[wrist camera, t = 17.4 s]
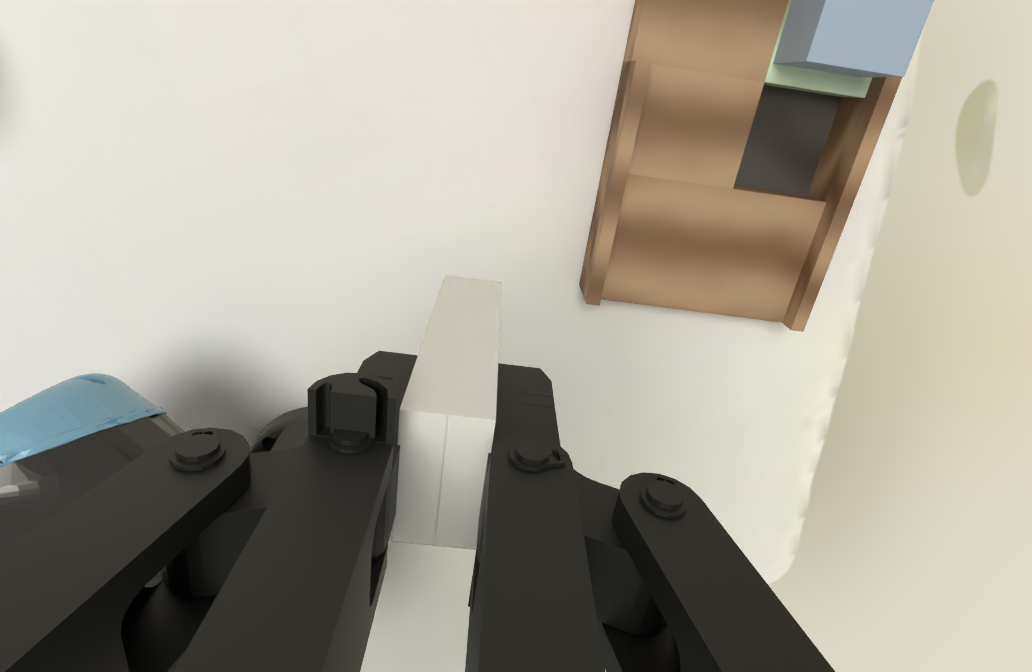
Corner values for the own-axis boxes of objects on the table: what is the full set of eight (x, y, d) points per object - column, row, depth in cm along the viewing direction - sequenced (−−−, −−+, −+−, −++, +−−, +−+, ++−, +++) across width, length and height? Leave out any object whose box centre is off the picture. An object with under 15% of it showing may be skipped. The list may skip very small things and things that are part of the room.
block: (859, 77, 37) (903, 76, 32) (772, 63, 36) (806, 60, 32) (898, -29, 34) (951, -45, 30) (805, -46, 34) (845, -64, 30)
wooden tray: (777, 309, 47) (803, 331, 43) (579, 283, 46) (586, 303, 41) (960, -198, 33) (1024, -238, 29) (685, -253, 32) (711, -302, 28)
